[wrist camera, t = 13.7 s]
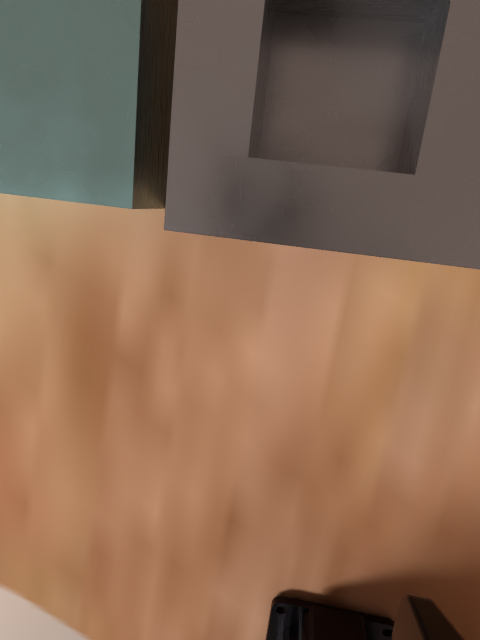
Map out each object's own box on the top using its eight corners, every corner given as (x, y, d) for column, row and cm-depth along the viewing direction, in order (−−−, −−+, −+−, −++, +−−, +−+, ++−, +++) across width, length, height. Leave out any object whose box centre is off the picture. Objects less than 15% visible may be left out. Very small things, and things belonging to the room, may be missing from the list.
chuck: (549, 266, 18) (641, 289, 13) (-23, 197, 20) (-124, 194, 15) (635, -22, 15) (792, -130, 10) (-36, -61, 18) (-162, -160, 13)
